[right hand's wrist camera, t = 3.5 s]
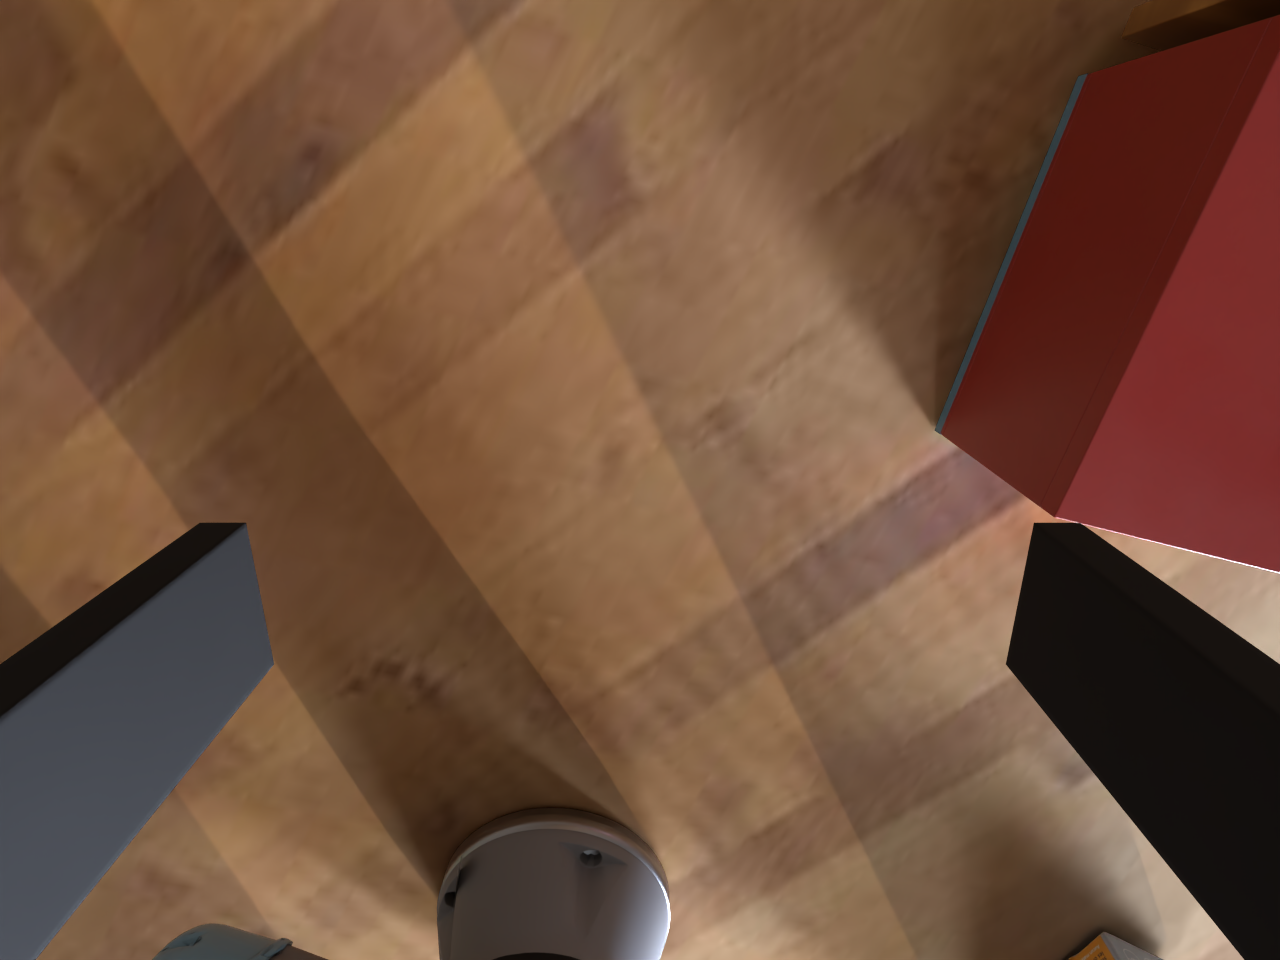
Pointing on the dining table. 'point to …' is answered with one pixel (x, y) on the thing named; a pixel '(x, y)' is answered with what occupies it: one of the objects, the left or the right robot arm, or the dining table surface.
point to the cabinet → (1145, 309)
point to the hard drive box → (1112, 950)
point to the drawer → (1192, 20)
